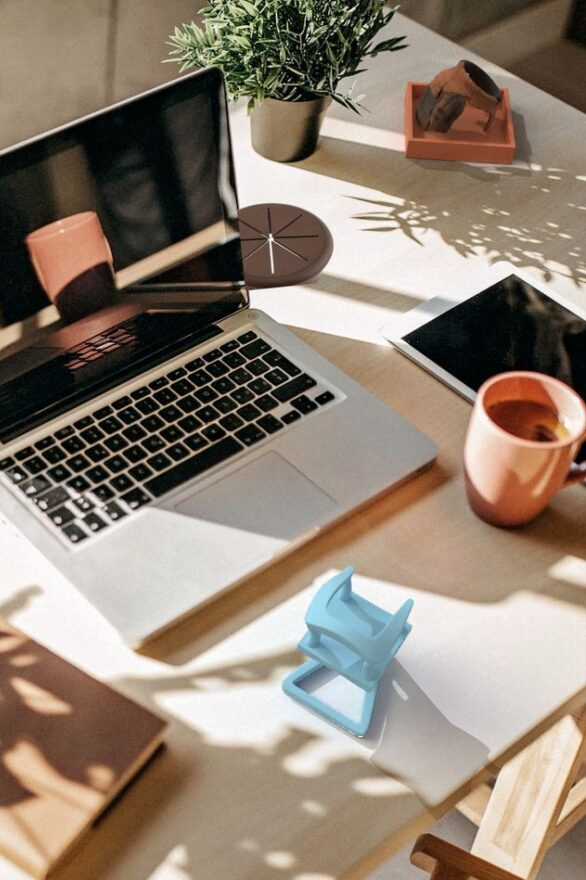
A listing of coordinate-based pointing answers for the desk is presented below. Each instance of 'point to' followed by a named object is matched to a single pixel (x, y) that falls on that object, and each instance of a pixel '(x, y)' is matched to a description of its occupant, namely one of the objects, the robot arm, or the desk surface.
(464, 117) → the terracotta tray
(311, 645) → the chair
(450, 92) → the broken clay pot
